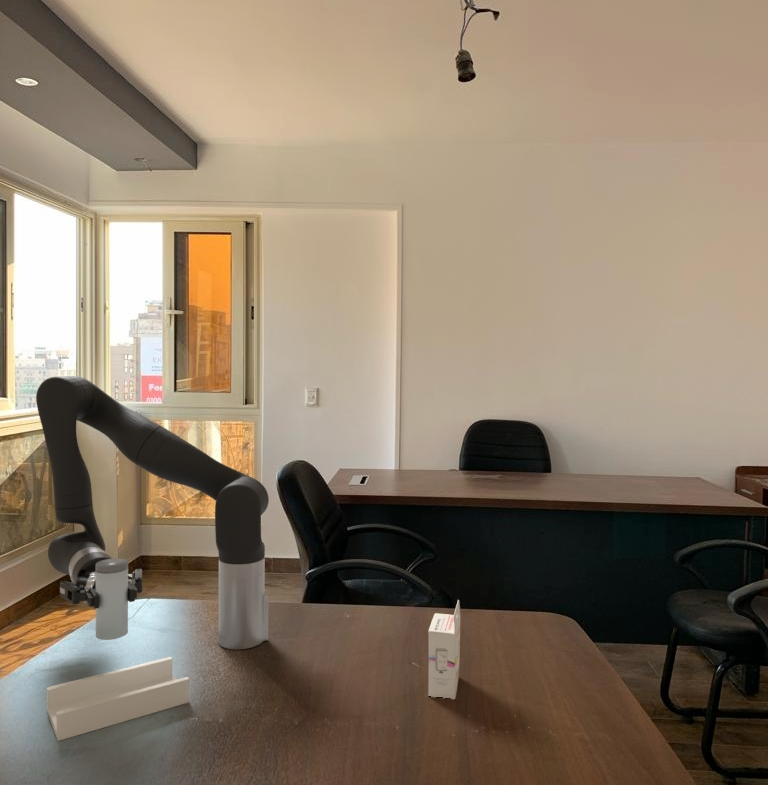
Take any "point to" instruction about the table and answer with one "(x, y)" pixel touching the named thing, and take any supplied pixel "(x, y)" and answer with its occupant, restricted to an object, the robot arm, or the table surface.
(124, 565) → the grey capped cylinder
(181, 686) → the tray
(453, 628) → the ink cartridge box
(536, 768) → the table surface
